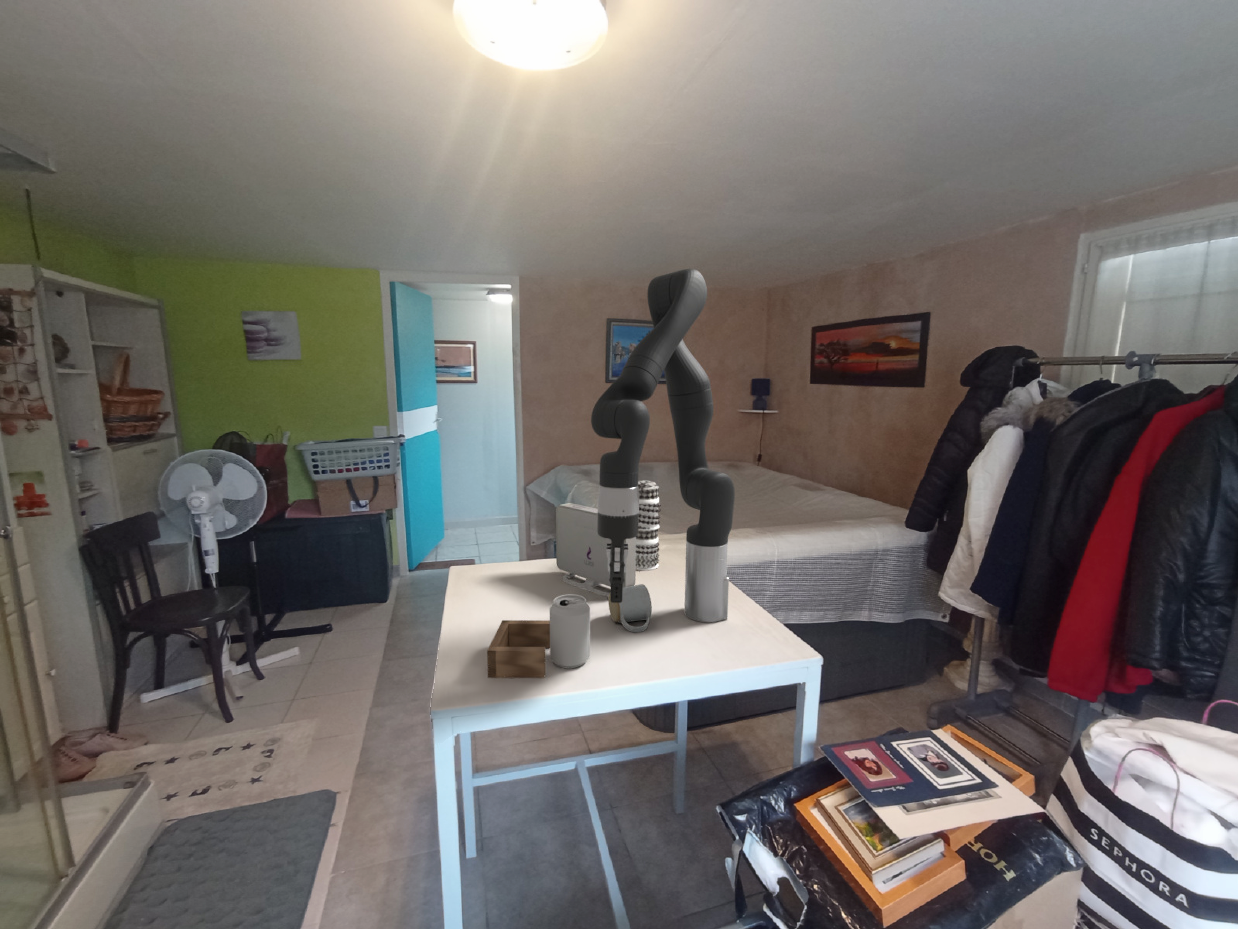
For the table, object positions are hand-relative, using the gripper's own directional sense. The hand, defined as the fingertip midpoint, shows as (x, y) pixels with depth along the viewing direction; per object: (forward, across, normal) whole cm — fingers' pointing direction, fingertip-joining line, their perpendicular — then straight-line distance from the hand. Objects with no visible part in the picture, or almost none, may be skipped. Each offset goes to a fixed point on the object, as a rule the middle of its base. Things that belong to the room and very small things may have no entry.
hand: (616, 601), depth 97 cm
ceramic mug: (+12, +17, -4) cm, 21 cm away
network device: (+12, +40, +6) cm, 42 cm away
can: (+12, 0, +8) cm, 15 cm away
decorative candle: (+11, +55, -8) cm, 57 cm away
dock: (+12, 0, +18) cm, 21 cm away
